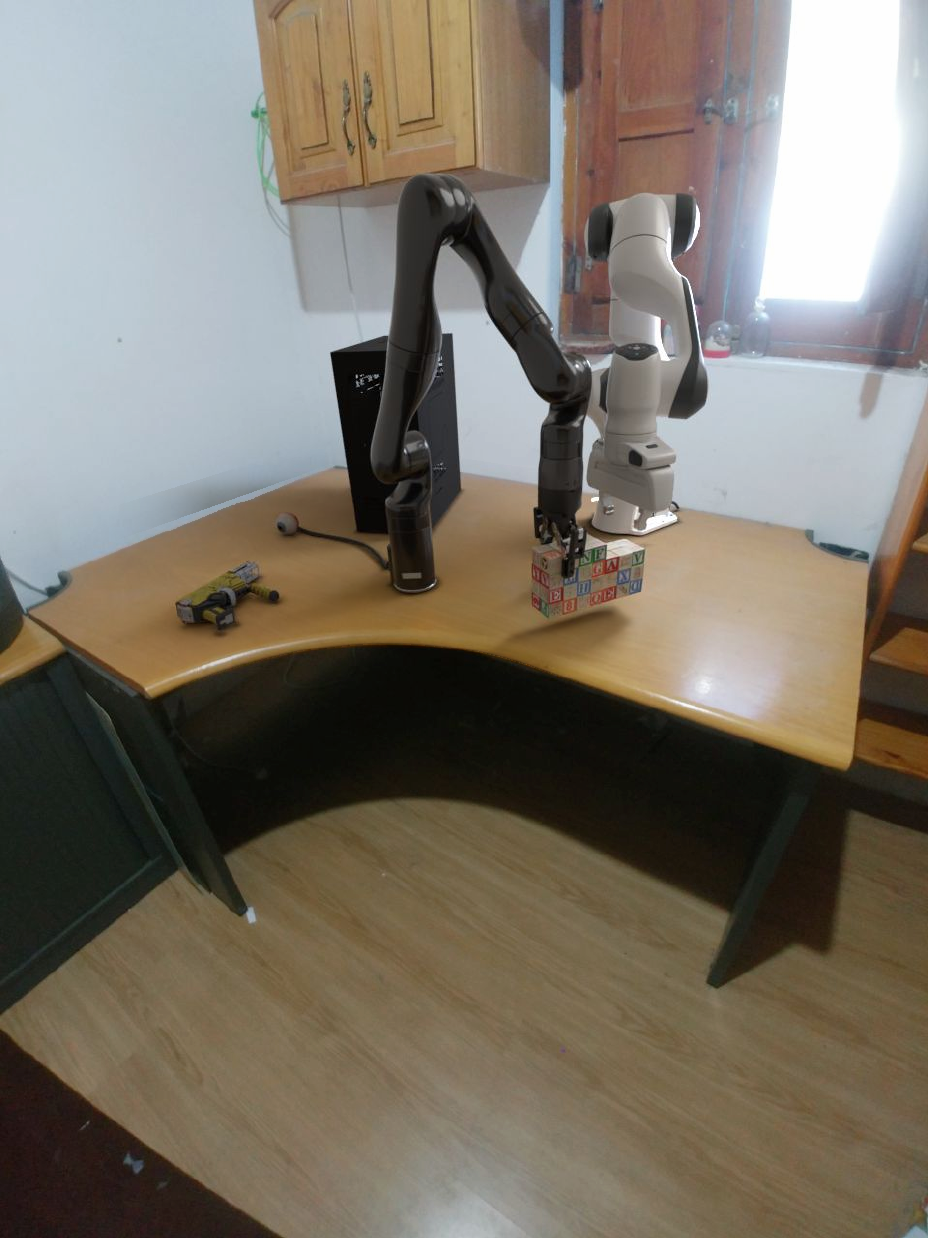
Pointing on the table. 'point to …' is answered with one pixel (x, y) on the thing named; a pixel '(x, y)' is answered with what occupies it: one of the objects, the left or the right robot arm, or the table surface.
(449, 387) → the cardboard box
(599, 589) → the stack of blocks
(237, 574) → the toy gun
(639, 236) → the right robot arm
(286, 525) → the eyeball
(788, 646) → the table surface
